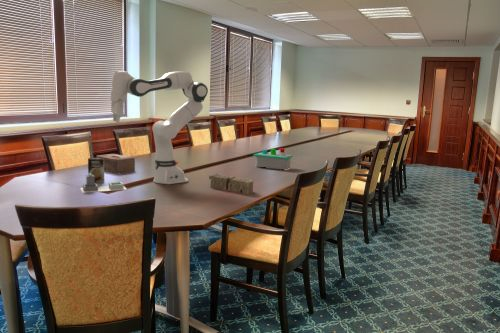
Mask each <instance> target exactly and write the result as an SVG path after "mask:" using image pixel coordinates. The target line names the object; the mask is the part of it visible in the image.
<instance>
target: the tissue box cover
mask: <svg viewBox="0 0 500 333" xmlns="http://www.w3.org/2000/svg"><path fill="white" fill-rule="evenodd" d="M95 158H104V172H105V171H106V172H109V173H112V174H118V175H119V173H120V174H126V173H130V172H135V171H136V161H135V160H136V158H135V157H133V156H128V155H123V154H117V153H110V154H109V153H107V154H100V155H96V156H95Z"/></svg>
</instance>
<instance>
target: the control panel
mask: <svg viewBox="0 0 500 333" xmlns="http://www.w3.org/2000/svg"><path fill="white" fill-rule="evenodd" d="M279 150H280V151H278V152H279V153H277V149H276V148H271V149H270V153H269V152H268V150H267V149H262V152H258V153H254V154H253V157H255V166H257V167H256V168H260V167H266V168H265V169H269V168H274V169H273V170H278V169H288V168H291V159H292V158H293V155H292V154H286V152H285V151H286V150H287V149H286V148H285V147H282V148H279Z"/></svg>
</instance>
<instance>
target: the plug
mask: <svg viewBox="0 0 500 333" xmlns="http://www.w3.org/2000/svg"><path fill="white" fill-rule="evenodd" d="M85 184H86V187H89V186H95V184H96V183H95V176H94V175H92V174H89V175H88V174H87V175H85Z"/></svg>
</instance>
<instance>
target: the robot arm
mask: <svg viewBox="0 0 500 333" xmlns="http://www.w3.org/2000/svg"><path fill="white" fill-rule="evenodd" d="M111 82H112V83H111V88H112V89H111V92H110V101H111V102H110V103H111V106H110V107H111V108H110V110H111V113H112V118H113V119H112V120H113V122H115V123H117V124H119V123H120V121H121V120H120V119H121V116H123V115H124V106H125V105H124V103H127V95H128V94H130V95H132V96H135V97H144V96H146V95H148V93H150V92H153V91H154V92H155V91H161V90H165V91H174V90H180V89H181V90H182V93H183V95H184V96H185V97H186V98H187V101H186V102H184V103H183V104H182V105H181V106H179V107H178V108H177V109H175V110H174V111H172V114H171V115H169V117H168V118H167V119H166V120H158V121H156V122H154V124H152V127H151V128H152V132H153V140H154V146H155V161H154V168H155V172H154V177H153V182H154V183H156V184H164V185H172V184H174V185H175V184H181V183H188V182H189V179H188V178H187V177H186V176H185V172H184V170H182V168H180V167H179V166H177V165H178V164H179V162H178V161H177V160H175V159H174V147H173V143H172V140H173V139H175V138H176V137H177V134H178V133H179V132H180V131H181V129H183V127H184V126H186V125H187V124H189V122H191V121H192V120H194V119H195V118H196V116H198V114H200V112H202V110H203V108H204V106H203V103H202V102H204V101H205V99H206V97H207V95H208V92H209V89H208V86H207V85H206V84H204V83H203V82H200V81H199V82H198V81H194V80H193V76H192V74H191V73H190V72H189V71H186V70H184V71H183V70H182V71H181V70H176V71H171V72H170V71H169V72H166V73H164V74H163V75H162V76H161V77H160V78H158V79H157V78H156V79H150V80H144V79H142V78H136V77H134V76H132V75H131V74H130V73H129V72H128V71H127V70H126V71H125V70H124V71H123V70H120V71H117V70H116V71H115V72H114V73H113V77H112V81H111Z"/></svg>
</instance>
